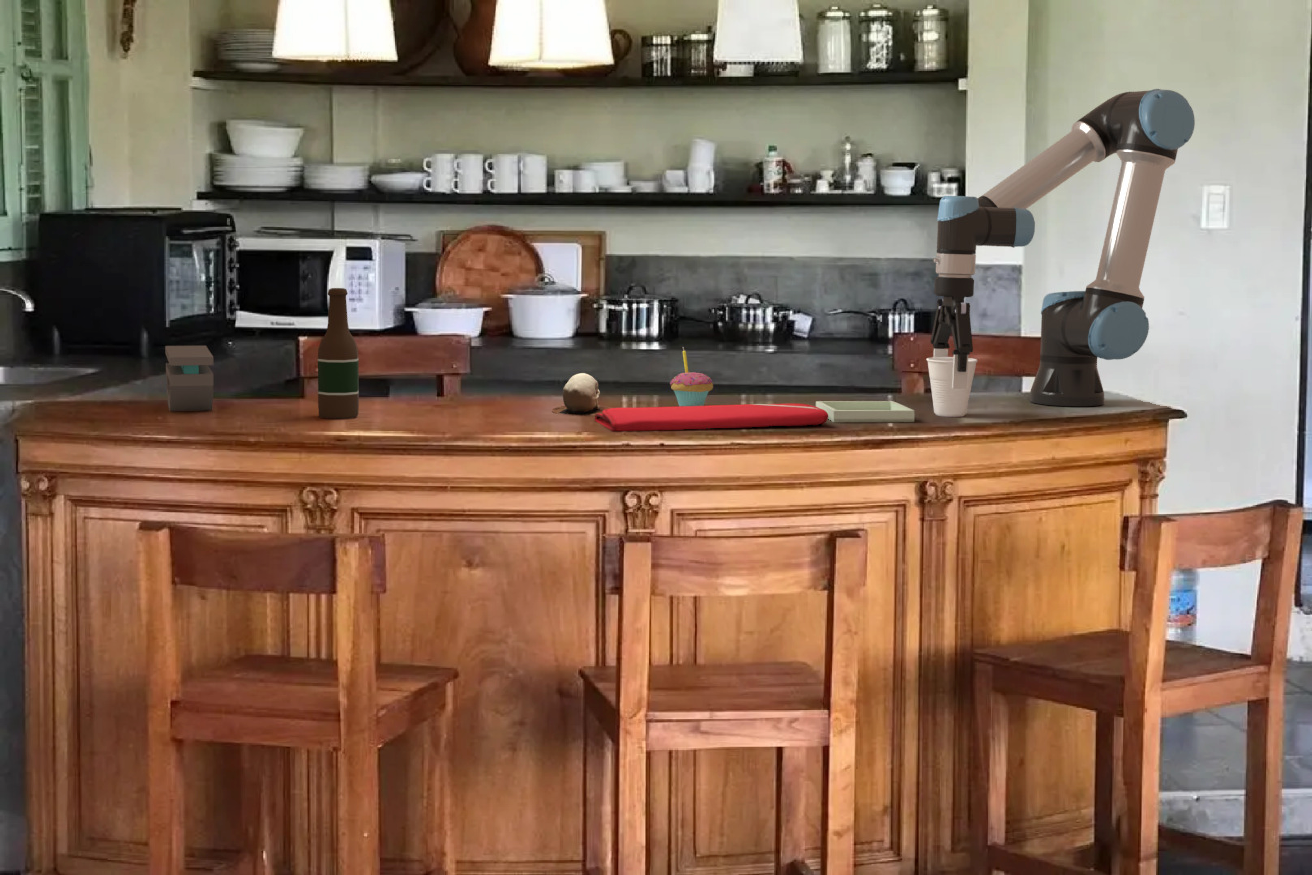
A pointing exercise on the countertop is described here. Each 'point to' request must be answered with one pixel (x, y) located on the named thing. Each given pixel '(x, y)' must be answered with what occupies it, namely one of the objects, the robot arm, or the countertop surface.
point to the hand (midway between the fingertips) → (949, 385)
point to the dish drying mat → (710, 417)
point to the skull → (581, 396)
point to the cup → (949, 387)
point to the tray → (866, 411)
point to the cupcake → (691, 386)
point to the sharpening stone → (189, 378)
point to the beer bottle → (338, 363)
